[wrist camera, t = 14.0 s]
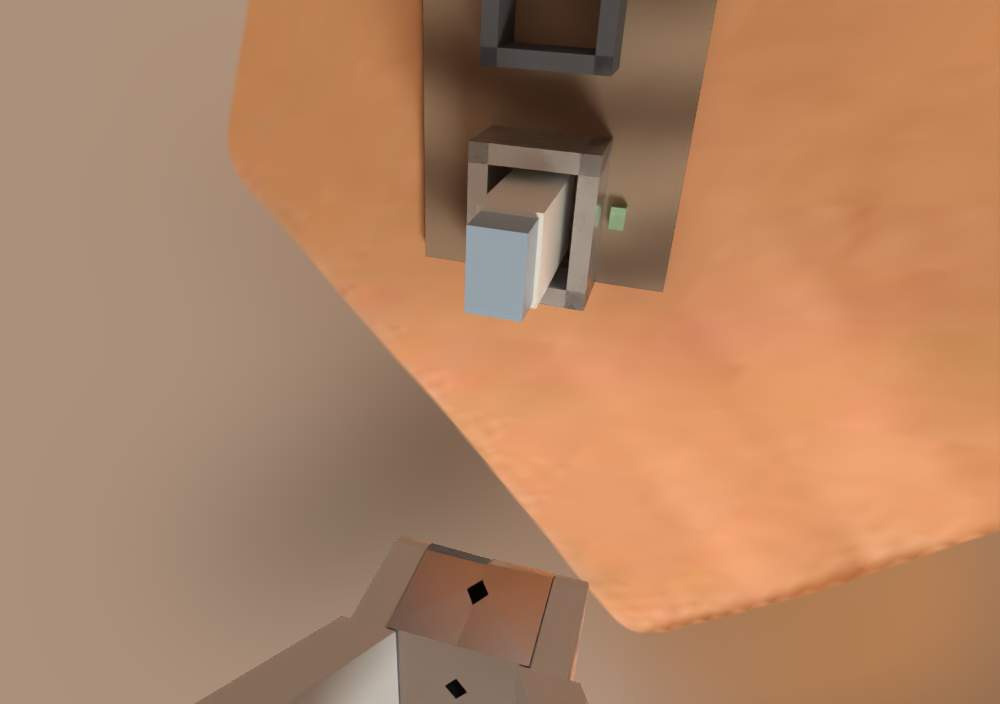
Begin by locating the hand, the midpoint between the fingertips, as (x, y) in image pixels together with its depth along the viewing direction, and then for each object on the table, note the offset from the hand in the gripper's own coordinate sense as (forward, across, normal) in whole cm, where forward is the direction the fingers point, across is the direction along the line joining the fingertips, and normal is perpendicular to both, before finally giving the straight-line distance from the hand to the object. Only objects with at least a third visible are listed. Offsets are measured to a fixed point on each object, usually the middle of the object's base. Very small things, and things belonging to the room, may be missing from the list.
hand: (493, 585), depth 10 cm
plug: (+28, +5, +3) cm, 29 cm away
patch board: (+29, +5, -3) cm, 30 cm away
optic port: (+28, +5, +3) cm, 29 cm away
